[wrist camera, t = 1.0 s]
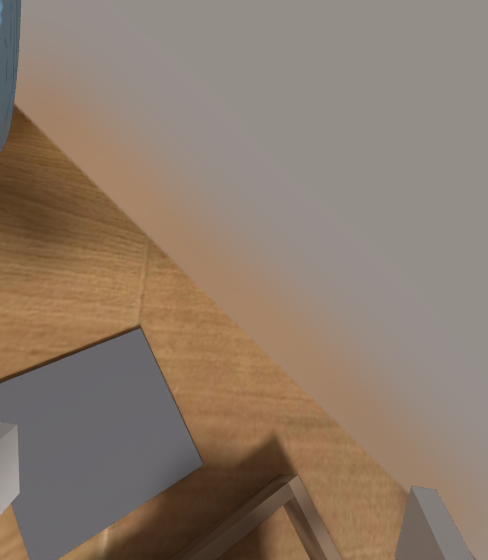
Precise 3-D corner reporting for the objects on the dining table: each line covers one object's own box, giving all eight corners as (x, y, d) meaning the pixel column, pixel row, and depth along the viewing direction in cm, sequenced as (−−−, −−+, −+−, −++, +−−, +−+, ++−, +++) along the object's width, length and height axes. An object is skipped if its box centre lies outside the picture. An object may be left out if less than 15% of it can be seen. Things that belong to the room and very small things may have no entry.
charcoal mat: (-24, 394, 26) (-26, 393, 26) (139, 329, 32) (140, 328, 32) (35, 572, 23) (34, 574, 23) (202, 464, 29) (203, 464, 29)
